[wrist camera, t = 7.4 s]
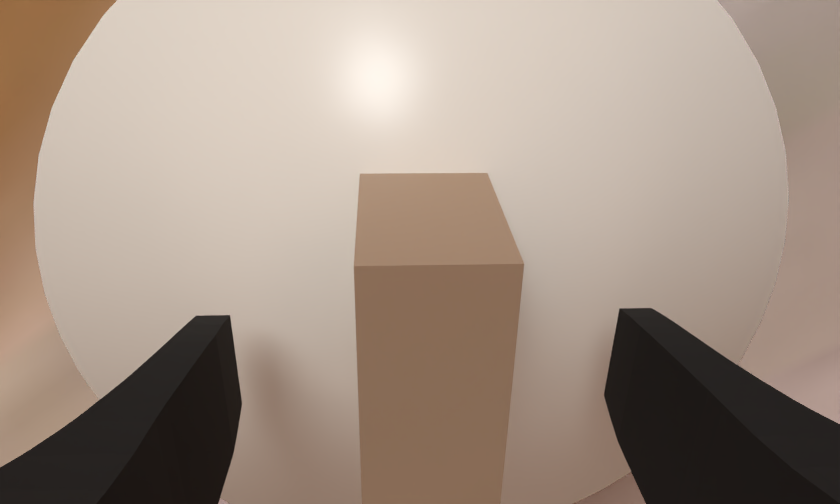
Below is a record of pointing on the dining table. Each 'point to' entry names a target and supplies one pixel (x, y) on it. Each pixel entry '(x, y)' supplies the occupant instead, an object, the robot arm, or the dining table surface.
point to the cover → (410, 224)
